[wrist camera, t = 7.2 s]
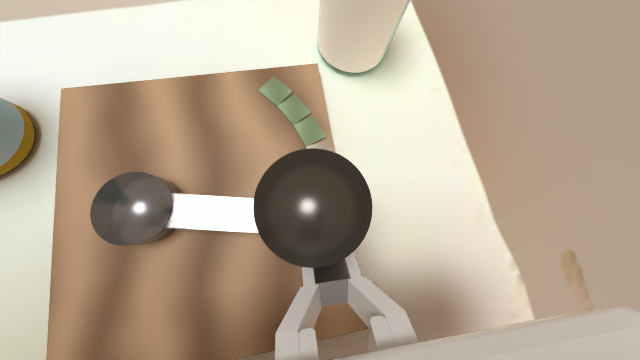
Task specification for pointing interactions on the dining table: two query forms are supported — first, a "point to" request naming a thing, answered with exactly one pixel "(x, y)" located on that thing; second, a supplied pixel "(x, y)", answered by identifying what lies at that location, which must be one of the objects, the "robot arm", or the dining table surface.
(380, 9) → the can
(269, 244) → the peg lever
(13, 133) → the bottle
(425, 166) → the dining table surface
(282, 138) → the tuner board
